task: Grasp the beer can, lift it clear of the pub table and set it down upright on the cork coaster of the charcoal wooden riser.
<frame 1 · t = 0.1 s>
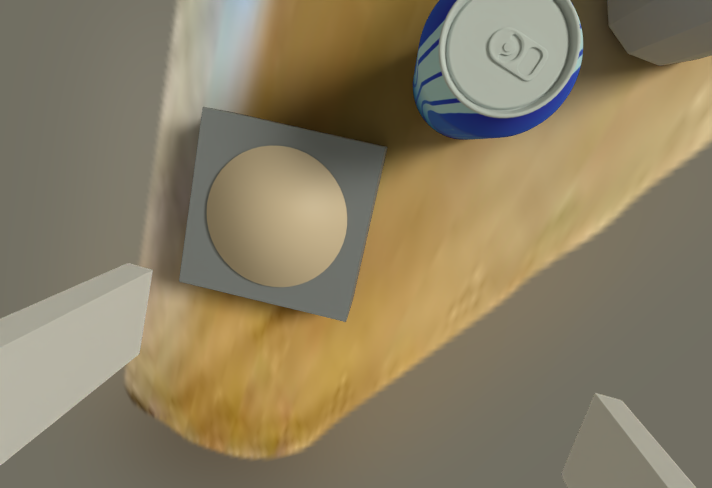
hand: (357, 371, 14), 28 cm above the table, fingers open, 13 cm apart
beer can: (464, 86, 38), on the table
riser: (291, 209, 41), on the table
jar: (666, 0, 35), on the table
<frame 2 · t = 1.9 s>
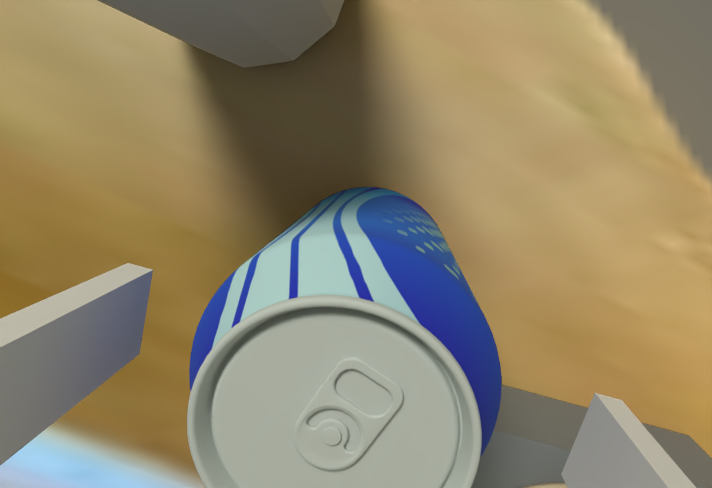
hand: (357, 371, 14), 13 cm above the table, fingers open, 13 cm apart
beer can: (369, 260, 26), on the table
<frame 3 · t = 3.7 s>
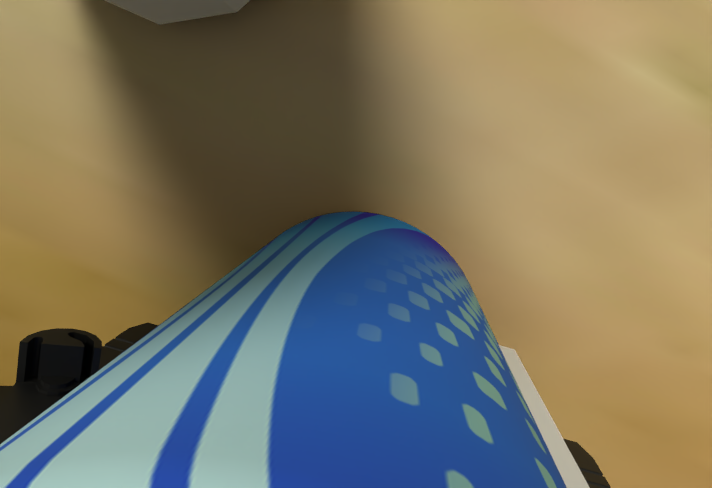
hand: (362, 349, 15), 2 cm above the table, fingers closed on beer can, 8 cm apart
beer can: (358, 317, 18), on the table, touching gripper
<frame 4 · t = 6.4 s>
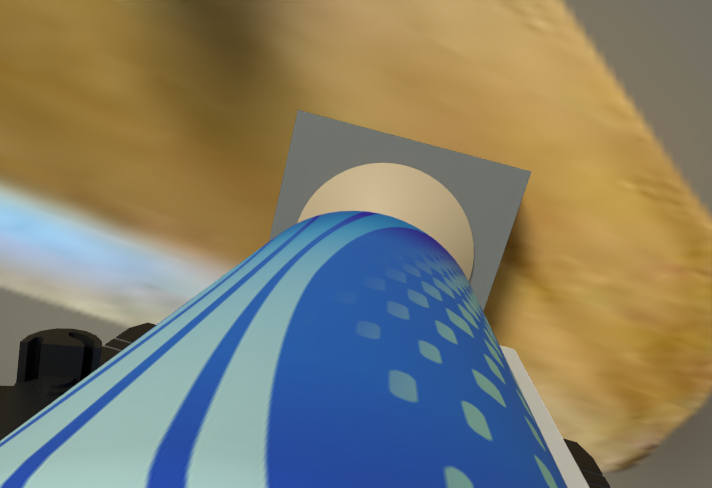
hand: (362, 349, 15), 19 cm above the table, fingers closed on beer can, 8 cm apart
beer can: (358, 316, 18), point 17 cm above the table, touching gripper
riser: (384, 237, 34), on the table
when the fingers open (9 cm above the table, at t = 9.1 s): beer can drops 1 cm, resting on riser.
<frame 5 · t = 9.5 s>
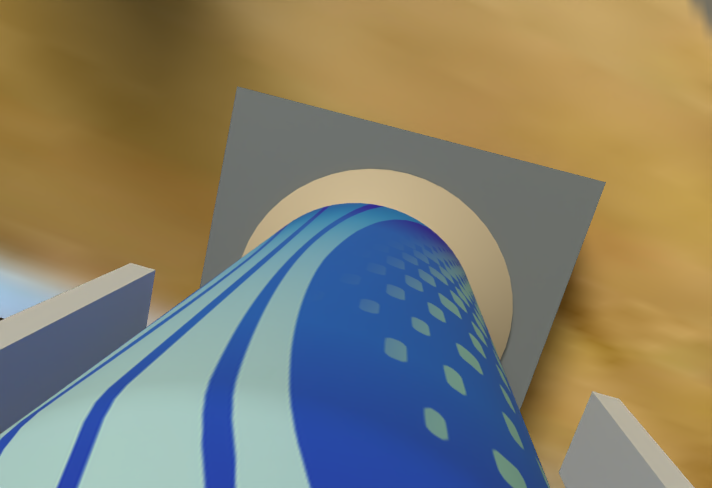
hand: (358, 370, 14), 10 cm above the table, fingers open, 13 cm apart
beer can: (361, 302, 19), point 5 cm above the table, touching riser
riser: (377, 273, 24), on the table
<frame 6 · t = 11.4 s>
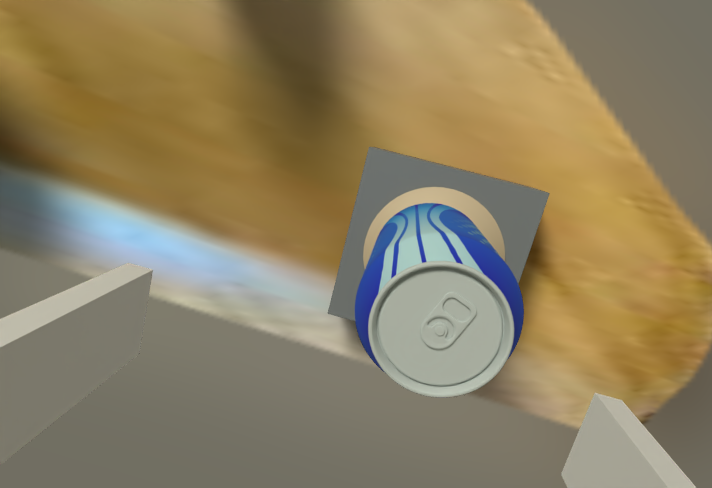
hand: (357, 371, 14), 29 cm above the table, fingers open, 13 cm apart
beer can: (428, 253, 37), point 5 cm above the table, touching riser
riser: (430, 243, 42), on the table
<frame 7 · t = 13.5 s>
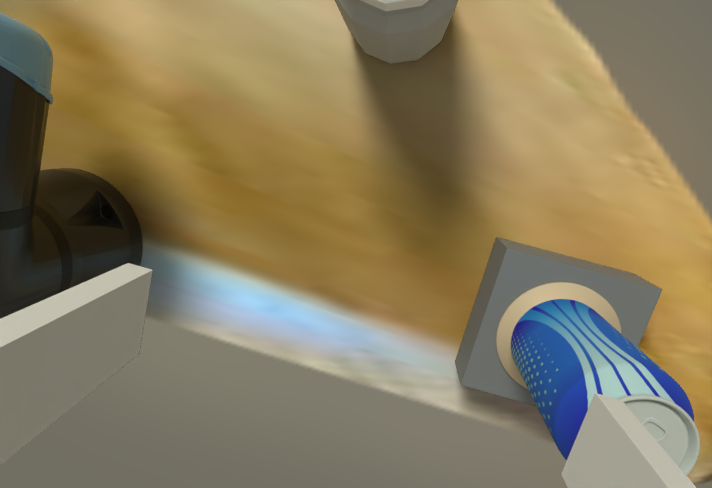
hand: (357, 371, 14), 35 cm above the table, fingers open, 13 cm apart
beer can: (553, 337, 43), point 5 cm above the table, touching riser
riser: (541, 319, 48), on the table
jar: (398, 10, 44), on the table
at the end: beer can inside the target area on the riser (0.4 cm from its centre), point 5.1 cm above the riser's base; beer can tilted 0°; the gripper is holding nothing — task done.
